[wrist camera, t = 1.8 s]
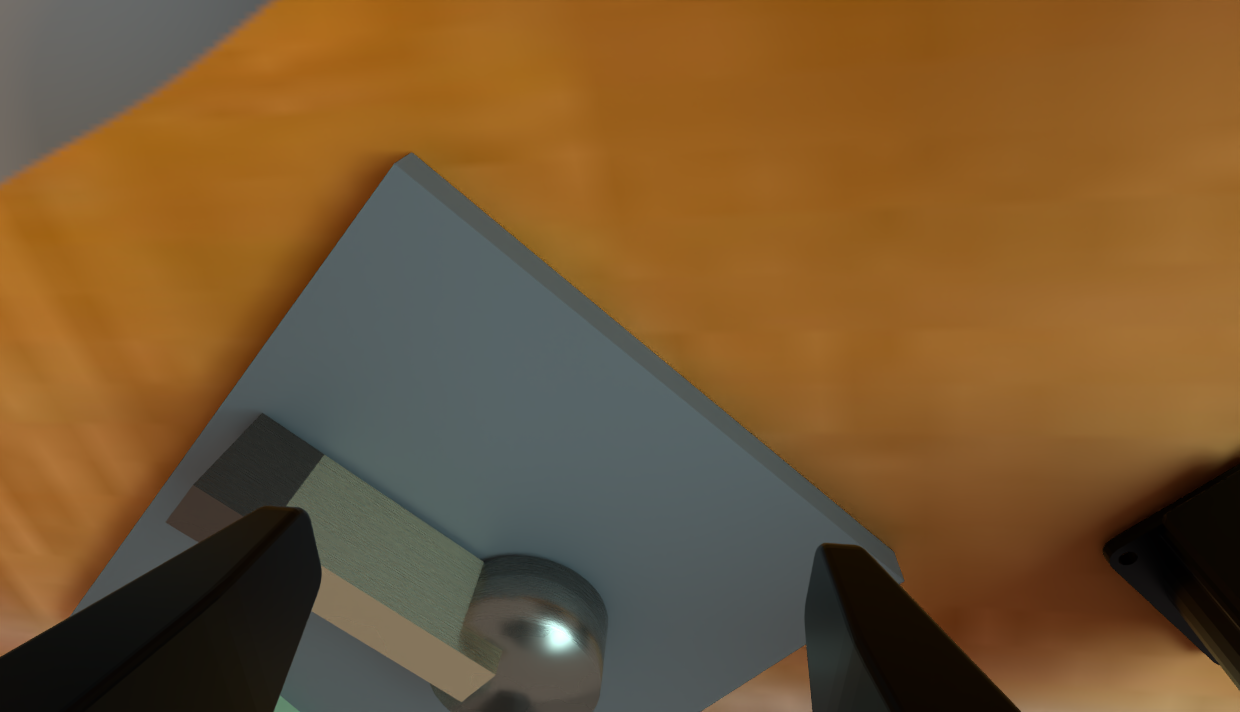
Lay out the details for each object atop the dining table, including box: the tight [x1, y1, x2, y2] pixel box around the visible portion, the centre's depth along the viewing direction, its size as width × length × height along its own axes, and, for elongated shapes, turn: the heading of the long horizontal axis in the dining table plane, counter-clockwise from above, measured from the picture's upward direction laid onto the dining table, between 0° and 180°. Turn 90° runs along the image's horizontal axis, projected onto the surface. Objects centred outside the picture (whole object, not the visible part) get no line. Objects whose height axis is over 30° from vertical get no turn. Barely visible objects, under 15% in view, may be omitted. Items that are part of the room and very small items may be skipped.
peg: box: [166, 413, 608, 712], centre depth 20 cm, size 12×5×3 cm, turn 49°
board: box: [70, 152, 904, 712], centre depth 23 cm, size 18×22×2 cm
